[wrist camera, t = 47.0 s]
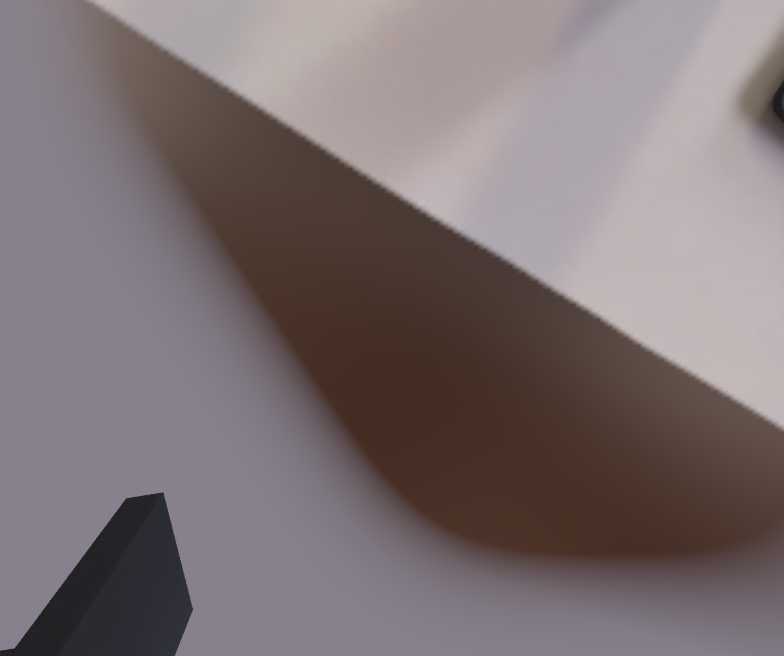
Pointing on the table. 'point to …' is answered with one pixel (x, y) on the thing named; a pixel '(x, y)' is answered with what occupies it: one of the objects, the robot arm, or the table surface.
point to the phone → (780, 102)
